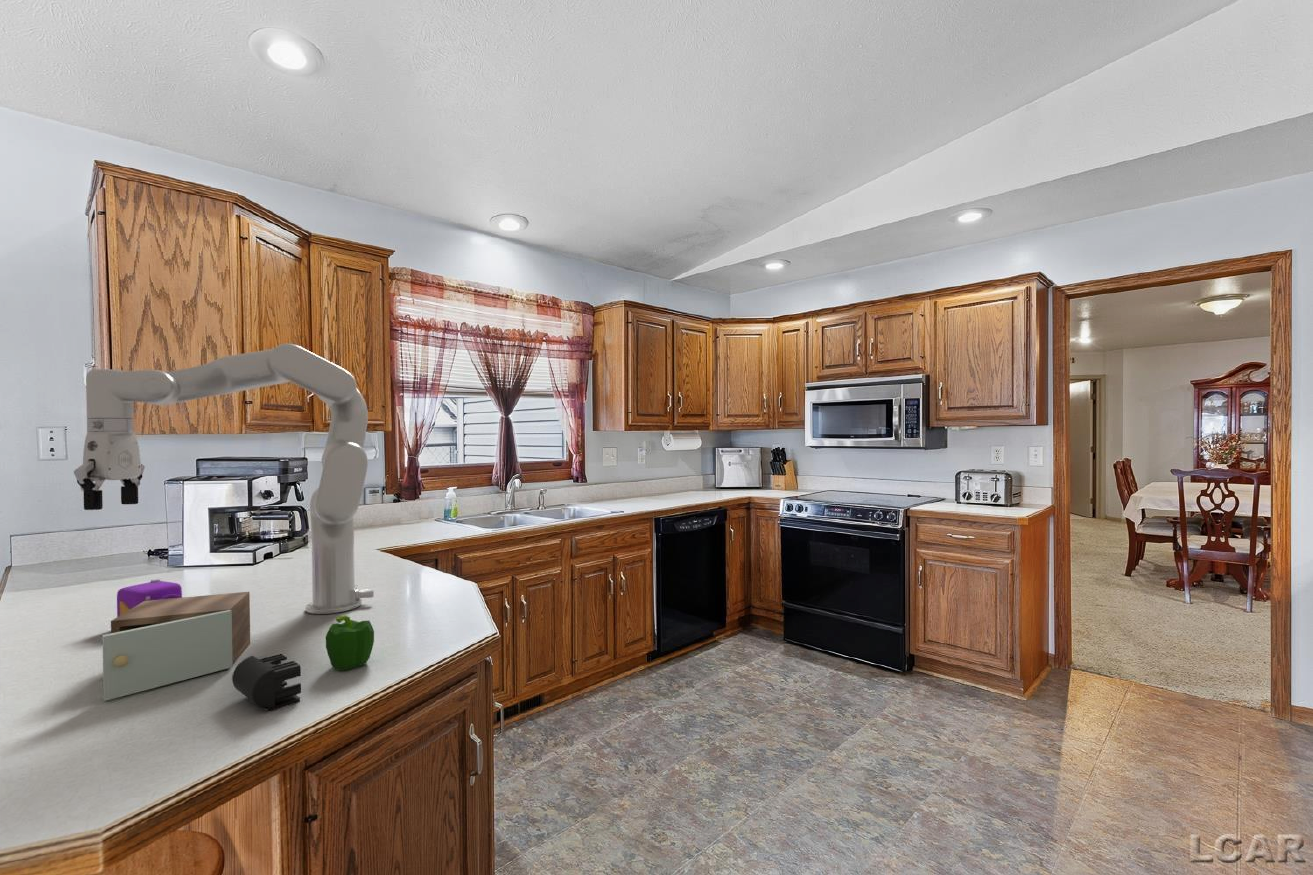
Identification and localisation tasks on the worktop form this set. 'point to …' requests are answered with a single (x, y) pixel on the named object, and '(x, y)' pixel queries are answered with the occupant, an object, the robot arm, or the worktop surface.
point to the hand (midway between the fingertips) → (112, 506)
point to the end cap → (268, 681)
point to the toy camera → (146, 594)
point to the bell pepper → (349, 643)
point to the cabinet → (192, 615)
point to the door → (166, 653)
